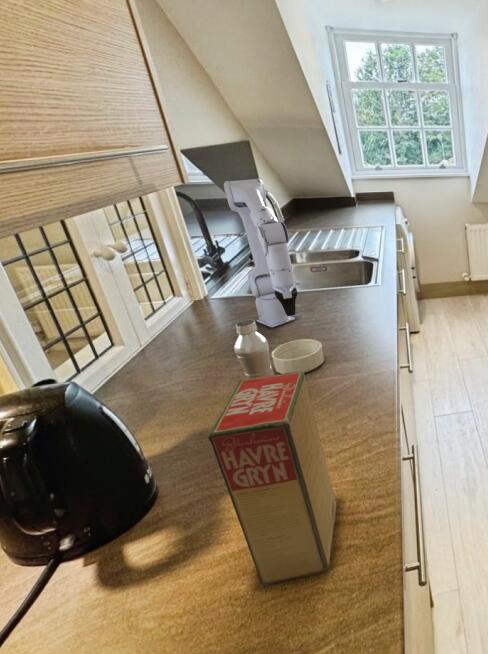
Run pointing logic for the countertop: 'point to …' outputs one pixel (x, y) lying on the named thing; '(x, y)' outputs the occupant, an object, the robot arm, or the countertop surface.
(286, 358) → the bowl
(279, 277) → the robot arm
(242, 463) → the food packaging
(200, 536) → the countertop surface
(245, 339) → the plastic bottle
